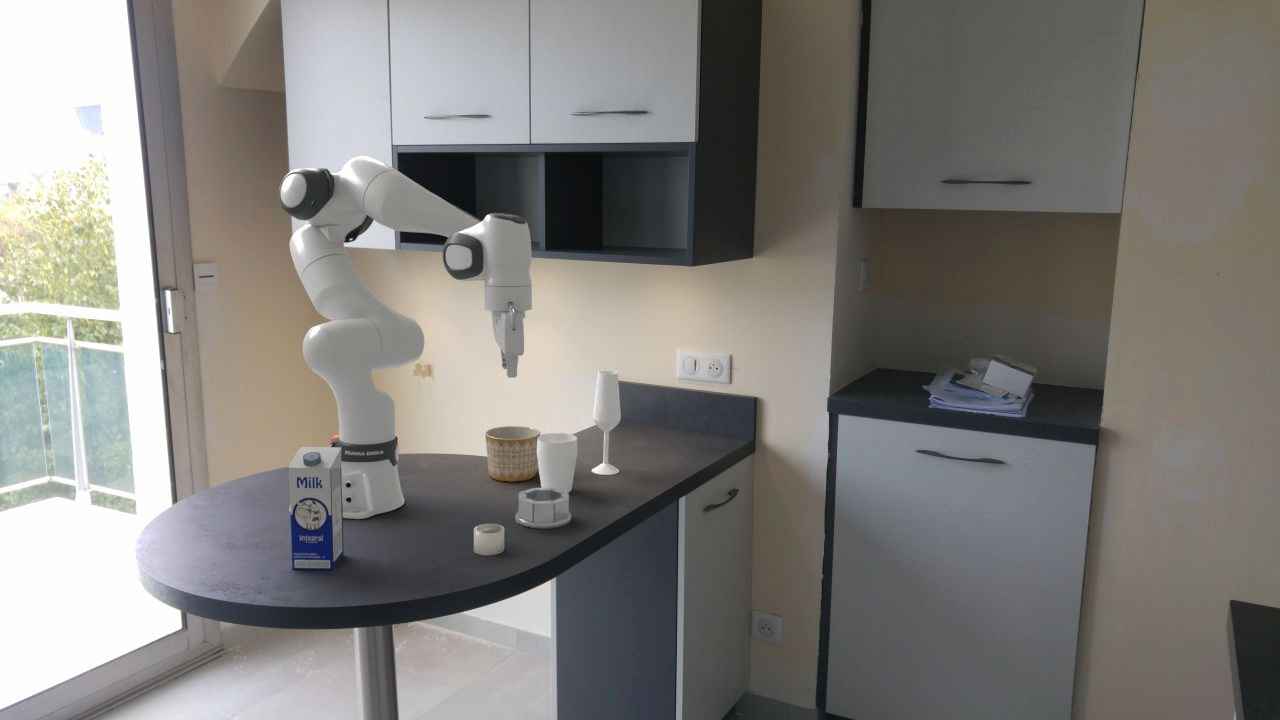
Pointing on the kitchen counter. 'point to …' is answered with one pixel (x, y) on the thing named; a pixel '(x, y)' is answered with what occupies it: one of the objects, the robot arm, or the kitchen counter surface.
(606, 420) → the champagne flute
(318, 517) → the milk carton
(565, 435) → the cup
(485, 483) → the kitchen counter surface
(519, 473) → the planter
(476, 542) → the cap
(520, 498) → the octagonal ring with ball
